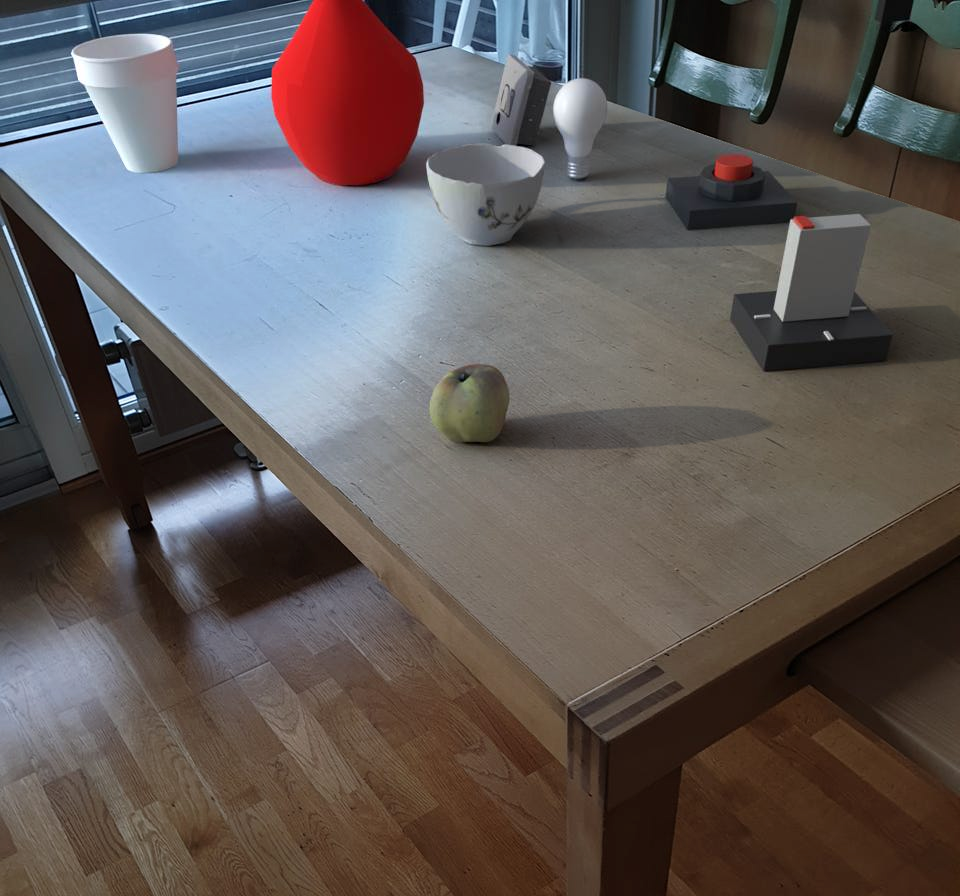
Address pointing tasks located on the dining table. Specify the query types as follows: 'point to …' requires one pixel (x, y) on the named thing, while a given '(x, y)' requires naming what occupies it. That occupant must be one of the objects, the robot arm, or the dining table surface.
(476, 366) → the apple
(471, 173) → the teacup
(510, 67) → the electrical switch
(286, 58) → the vase
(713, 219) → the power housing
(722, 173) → the power button
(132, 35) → the cup
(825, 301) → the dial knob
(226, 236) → the dining table surface
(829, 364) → the dial panel
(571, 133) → the lightbulb
